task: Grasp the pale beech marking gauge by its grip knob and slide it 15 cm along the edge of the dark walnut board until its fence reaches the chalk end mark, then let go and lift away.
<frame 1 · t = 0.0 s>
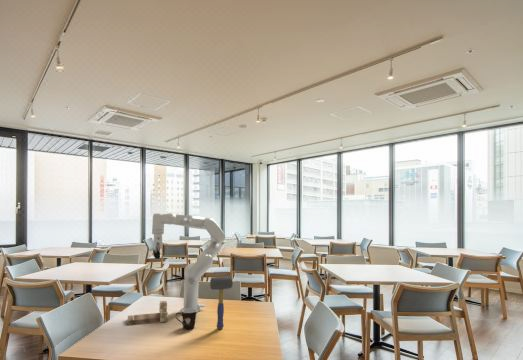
hand: (156, 257, 219), 37 cm above the table, tool pointing down, fingers open, 9 cm apart
coffee mug: (186, 328, 192), on the table
rubber mallet: (220, 329, 191), on the table
marking gauge: (163, 310, 206), point 5 cm above the table, slide at 0.0 cm
walnut board: (147, 320, 203), on the table
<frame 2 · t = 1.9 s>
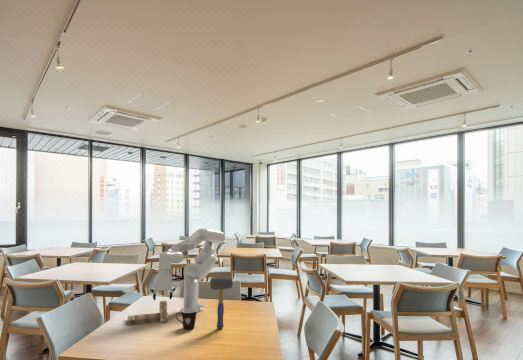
hand: (162, 299, 207), 12 cm above the table, tool pointing down, fingers open, 9 cm apart
nothing on the table moved.
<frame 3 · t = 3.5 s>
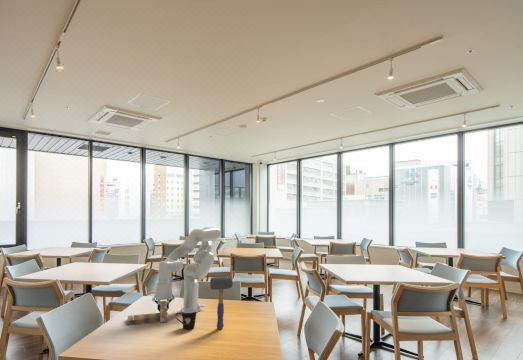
hand: (163, 310, 207), 5 cm above the table, tool pointing down, fingers closed on marking gauge, 4 cm apart
marking gauge: (163, 310, 206), point 5 cm above the table, slide at 0.0 cm, touching gripper
everything else where it was.
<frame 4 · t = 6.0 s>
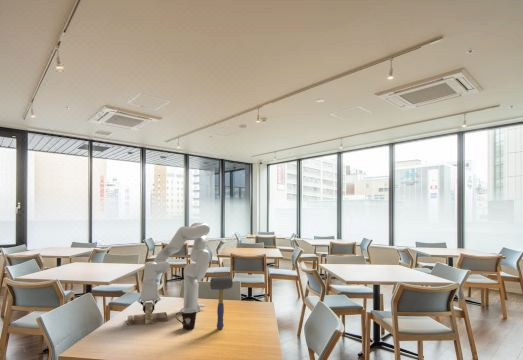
hand: (148, 311, 204), 5 cm above the table, tool pointing down, fingers closed on marking gauge, 4 cm apart
marking gauge: (148, 312, 203), point 5 cm above the table, slide at 8.7 cm, touching gripper
everything else where it was.
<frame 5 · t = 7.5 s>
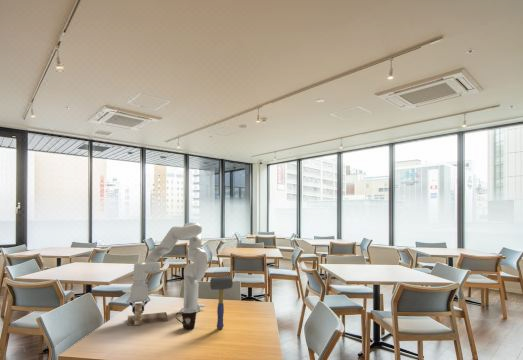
hand: (138, 312, 202), 5 cm above the table, tool pointing down, fingers closed on marking gauge, 4 cm apart
marking gauge: (138, 313, 201), point 5 cm above the table, slide at 14.9 cm, touching gripper
everything else where it was.
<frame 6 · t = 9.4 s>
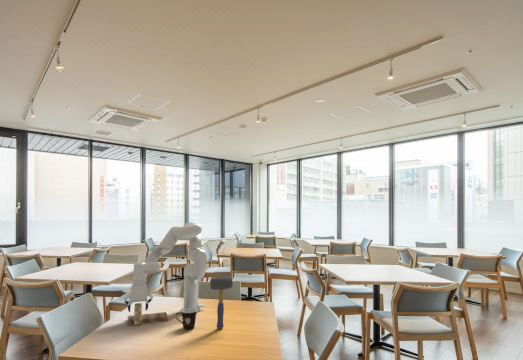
hand: (137, 310, 202), 6 cm above the table, tool pointing down, fingers open, 9 cm apart
marking gauge: (137, 313, 201), point 5 cm above the table, slide at 15.0 cm
everything else where it was.
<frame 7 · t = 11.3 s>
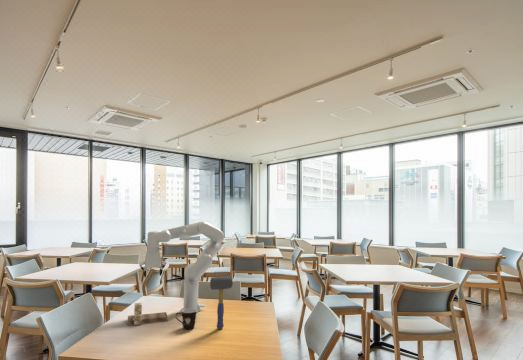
hand: (152, 276, 218), 25 cm above the table, tool pointing down, fingers open, 9 cm apart
nothing on the table moved.
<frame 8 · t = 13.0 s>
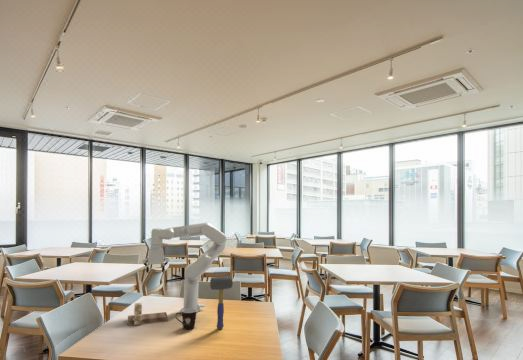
hand: (155, 272, 221), 26 cm above the table, tool pointing down, fingers open, 9 cm apart
nothing on the table moved.
at the end: marking gauge slide at 15.0 cm; the gripper is holding nothing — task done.
